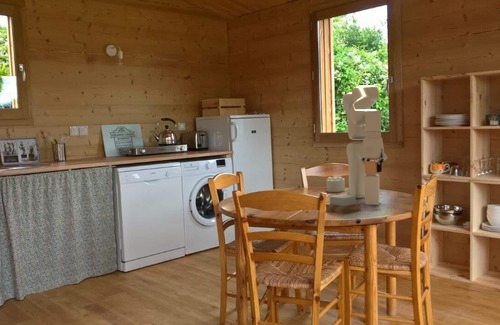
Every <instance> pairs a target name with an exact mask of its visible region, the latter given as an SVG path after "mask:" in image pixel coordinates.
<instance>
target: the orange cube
mask: <svg viewBox="0 0 500 325" xmlns="http://www.w3.org/2000/svg"><path fill="white" fill-rule="evenodd" d="M364 164H365V174H379V175H380V174H383V171H382V172H377V164H378V163H377V160H373V159H370V161H365V163H364Z"/></svg>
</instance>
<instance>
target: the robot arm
mask: <svg viewBox="0 0 500 325" xmlns="http://www.w3.org/2000/svg"><path fill="white" fill-rule="evenodd" d="M379 97H380V92H379V89H378V87H377V86H375V85H359V86H355V87H354V88H353V89H352V90H351V92H348V93H345V94H343V96H342V106H343V109H344V113H345V114H346V118H347V120H346V121H347V134H348V138H349V139H351V140H352V141H354V142H350V143H348V144H347V145H346V156H347V162H348V164H347V165H348V187H345V190H344V191H343V192H346V193H347V194H345V195H353V196H356V199H363V198H364V199H365V183H364V177H365V175H366V174H365V161H371V160H373V159H376V160H375V161H377V163H378V164H377V172H382V173H383V164H384V163H385V161H386V160H387V159H388V155H387V154H386V153H385V149H384V141H383V137H382V128H381V127H382V120H381V119H382V113H381V111H380V110H379V109H374V108H371V107H373V106H374V105H375V104H376V103H377V101H378V100H379ZM370 108H371V109H370ZM361 140H363V141H361Z"/></svg>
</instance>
